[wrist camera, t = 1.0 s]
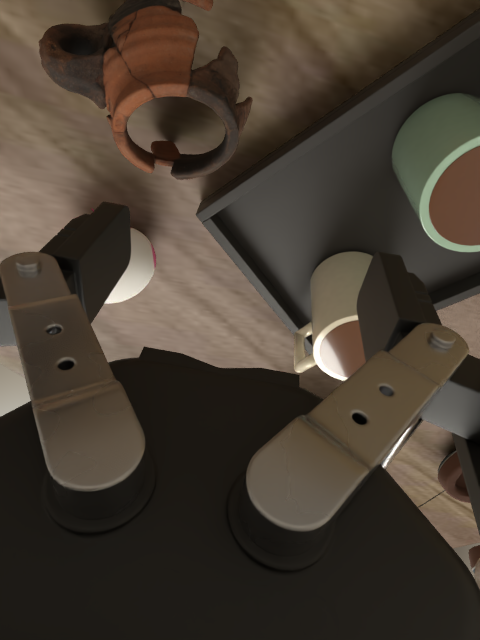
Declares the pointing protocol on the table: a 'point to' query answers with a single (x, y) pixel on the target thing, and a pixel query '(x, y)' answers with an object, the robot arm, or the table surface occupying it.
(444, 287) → the tray
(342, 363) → the cream cup
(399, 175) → the green cup
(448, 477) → the headphones
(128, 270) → the stress ball
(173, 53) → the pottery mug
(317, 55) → the table surface
